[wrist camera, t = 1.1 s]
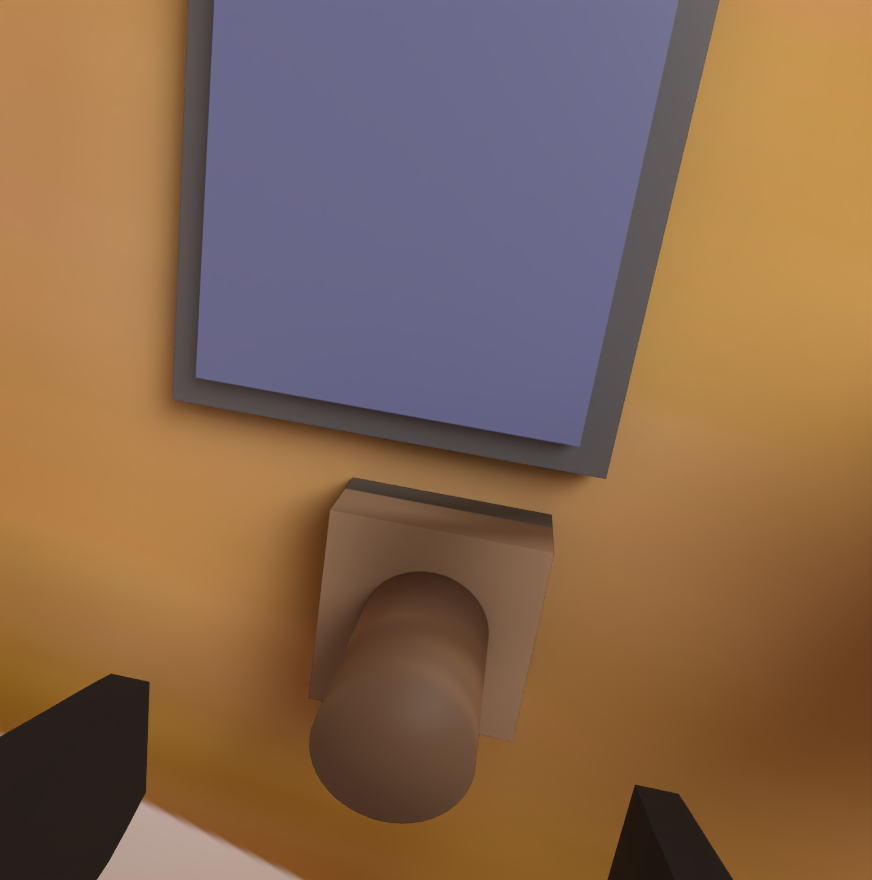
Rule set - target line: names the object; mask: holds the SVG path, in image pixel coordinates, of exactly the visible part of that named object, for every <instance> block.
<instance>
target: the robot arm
mask: <svg viewBox="0 0 872 880" xmlns="http://www.w3.org/2000/svg"><path fill="white" fill-rule="evenodd" d="M149 683H150V682H147V681H143V680H138V679H133V678H128V677H124V676H119V675H114V674H110V675H108V676H106V677H104V678H102V679H100V680H98V681H96V682H95V683H93V684H91V685H89V686H88V687H86V688H84V689H82V690H81V691H79V692H77V693H75V694H74V695H72V696H70V697H68V698H67V699H65V700H63V701H62V702H60V703H58V704H56V705H55V706H53V707H51V708H50V709H48V710H46V711H44V712H43V713H41V714H39V715H37V716H36V717H34V718H32V719H31V720H29V721H27V722H25V723H24V724H22V725H20V726H18V727H16V728H15V729H13V730H11V731H9V732H8V733H6V734H4V735H2V736H1V737H0V880H97V879H98V877H99V876H100V874H101V873H102V871H103V869H104V868H105V866H106V865H107V863H108V862H109V860H110V858H111V857H112V855H113V853H114V851H115V849H116V848H117V846H118V844H119V842H120V840H121V838H122V837H123V835H124V833H125V831H126V829H127V827H128V825H129V824H130V822H131V820H132V818H133V816H134V814H135V812H136V810H137V808H138V806H139V804H140V802H141V800H142V798H143V796H144V795H145V793H146V770H147V741H148V712H149ZM608 880H733V879H732V877H731V875H730V874H729V872H728V871H727V869H726V868H725V866H724V865H723V863H722V861H721V860H720V858H719V857H718V855H717V854H716V852H715V850H714V849H713V847H712V846H711V844H710V842H709V841H708V839H707V838H706V836H705V834H704V833H703V831H702V830H701V828H700V827H699V825H698V823H697V822H696V820H695V819H694V817H693V815H692V814H691V812H690V811H689V809H688V808H687V806H686V805H685V803H684V801H683V800H682V798H681V797H680V795H679V794H677V793H672V792H667V791H662V790H658V789H653V788H648V787H644V786H639V785H635V787H634V790H633V794H632V797H631V800H630V804H629V807H628V811H627V814H626V818H625V821H624V825H623V828H622V832H621V835H620V838H619V842H618V845H617V849H616V852H615V856H614V859H613V863H612V866H611V869H610V873H609V876H608Z"/></svg>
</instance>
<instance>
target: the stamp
mask: <svg viewBox="0 0 872 880" xmlns="http://www.w3.org/2000/svg"><path fill="white" fill-rule="evenodd" d="M553 557H554V541H553V527H552V515H550V514H545V513H539V512H534V511H529V510H523V509H518V508H513V507H507V506H502V505H497V504H491V503H486V502H481V501H476V500H470V499H465V498H460V497H454V496H449V495H444V494H438V493H433V492H428V491H422V490H417V489H412V488H406V487H401V486H396V485H390V484H385V483H380V482H375V481H369V480H364V479H359V478H352V480H351V481H350V483H349V484H348V485H347V487H346V488H345V490H344V491H343V493H342V494H341V495H340V497H339V498H338V500H337V501H336V502H335V504H334V505H333V507H332V508H331V509H330V515H329V524H328V533H327V542H326V550H325V559H324V568H323V577H322V586H321V594H320V603H319V612H318V621H317V630H316V638H315V647H314V656H313V665H312V673H311V682H310V691H309V698H310V699H315V700H320V701H323V702H322V704H321V706H320V709H319V711H318V713H317V715H316V718H315V720H314V723H313V725H312V728H311V733H310V742H309V748H310V756H311V760H312V763H313V766H314V769H315V771H316V773H317V775H318V777H319V778H320V780H321V782H322V783H323V784H324V786H325V787H326V788H327V790H328V791H329V792H330V793H331V794H332V795H333V796H334V797H335V798H336V799H338V800H339V801H340V802H341V803H342V804H344V805H345V806H347V807H348V808H350V809H352V810H353V811H355V812H357V813H359V814H361V815H364V816H366V817H369V818H372V819H375V820H379V821H384V822H390V823H415V822H422V821H426V820H429V819H432V818H435V817H437V816H440V815H442V814H443V813H445V812H447V811H448V810H450V809H451V808H452V807H454V806H455V805H456V804H457V803H458V802H459V801H460V800H461V799H462V798H463V797H464V795H465V794H466V792H467V791H468V789H469V787H470V785H471V783H472V780H473V776H474V773H475V765H476V755H477V745H478V736H479V735H483V736H488V737H493V738H498V739H502V740H507V741H512V742H513V738H514V733H515V729H516V724H517V719H518V715H519V710H520V706H521V701H522V697H523V692H524V688H525V683H526V679H527V674H528V670H529V665H530V661H531V656H532V652H533V647H534V643H535V638H536V634H537V629H538V625H539V620H540V616H541V611H542V607H543V602H544V598H545V593H546V589H547V584H548V579H549V575H550V570H551V566H552V561H553Z"/></svg>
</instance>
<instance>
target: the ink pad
mask: <svg viewBox="0 0 872 880" xmlns="http://www.w3.org/2000/svg"><path fill="white" fill-rule="evenodd" d="M718 4H719V0H188V24H187V49H186V75H185V100H184V125H183V151H182V176H181V201H180V226H179V252H178V277H177V302H176V327H175V353H174V378H173V400H178V401H183V402H189V403H194V404H199V405H205V406H210V407H216V408H221V409H227V410H232V411H238V412H243V413H249V414H254V415H260V416H265V417H270V418H276V419H281V420H287V421H292V422H298V423H303V424H309V425H314V426H320V427H325V428H330V429H336V430H341V431H347V432H352V433H358V434H363V435H369V436H374V437H380V438H385V439H391V440H396V441H401V442H407V443H412V444H418V445H423V446H429V447H434V448H440V449H445V450H451V451H456V452H461V453H467V454H472V455H478V456H483V457H489V458H494V459H500V460H505V461H511V462H516V463H522V464H527V465H532V466H538V467H543V468H549V469H554V470H560V471H565V472H571V473H576V474H582V475H587V476H592V477H598V478H603V479H606V476H607V472H608V468H609V464H610V460H611V455H612V451H613V447H614V443H615V438H616V434H617V430H618V426H619V422H620V417H621V413H622V409H623V405H624V401H625V396H626V392H627V388H628V384H629V379H630V375H631V371H632V367H633V363H634V358H635V354H636V350H637V346H638V342H639V337H640V333H641V329H642V325H643V320H644V316H645V312H646V308H647V304H648V299H649V295H650V291H651V287H652V283H653V278H654V274H655V270H656V266H657V261H658V257H659V253H660V249H661V245H662V240H663V236H664V232H665V228H666V224H667V219H668V215H669V211H670V207H671V202H672V198H673V194H674V190H675V186H676V181H677V177H678V173H679V169H680V164H681V160H682V156H683V152H684V148H685V143H686V139H687V135H688V131H689V127H690V122H691V118H692V114H693V110H694V105H695V101H696V97H697V93H698V89H699V84H700V80H701V76H702V72H703V68H704V63H705V59H706V55H707V51H708V46H709V42H710V38H711V34H712V30H713V25H714V21H715V17H716V13H717V9H718Z"/></svg>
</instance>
